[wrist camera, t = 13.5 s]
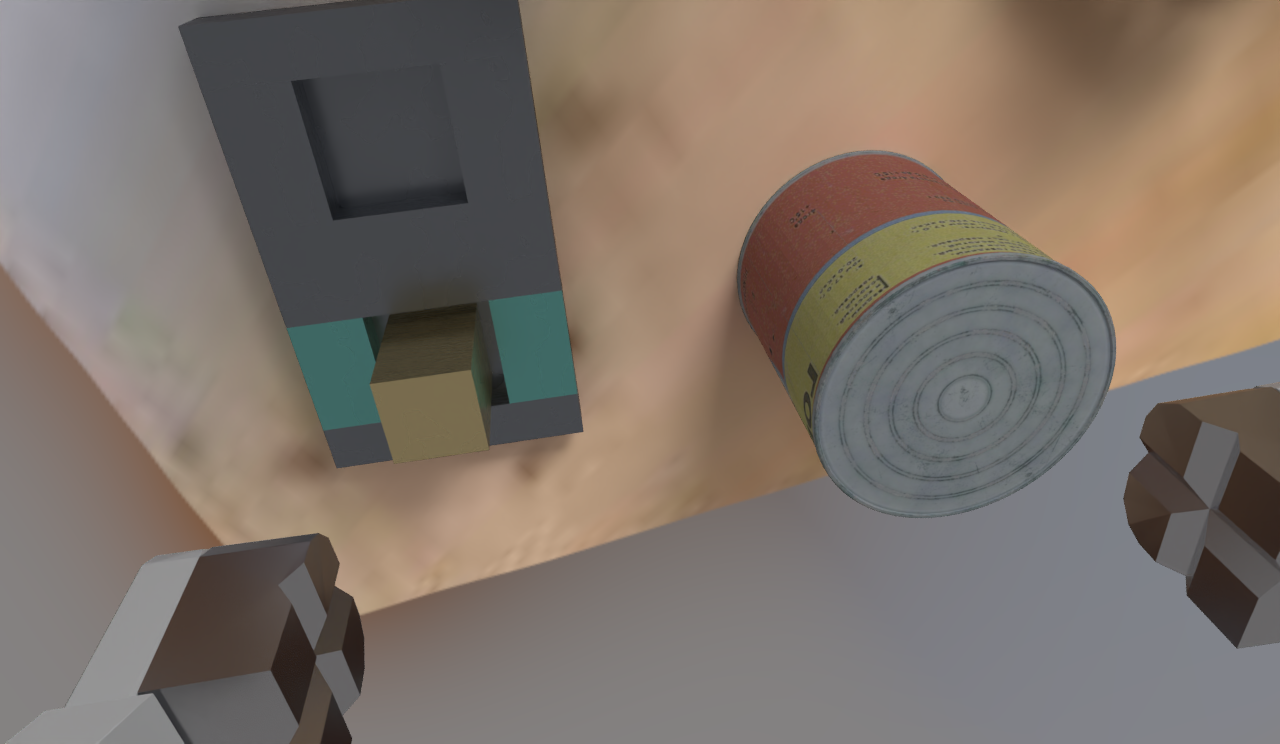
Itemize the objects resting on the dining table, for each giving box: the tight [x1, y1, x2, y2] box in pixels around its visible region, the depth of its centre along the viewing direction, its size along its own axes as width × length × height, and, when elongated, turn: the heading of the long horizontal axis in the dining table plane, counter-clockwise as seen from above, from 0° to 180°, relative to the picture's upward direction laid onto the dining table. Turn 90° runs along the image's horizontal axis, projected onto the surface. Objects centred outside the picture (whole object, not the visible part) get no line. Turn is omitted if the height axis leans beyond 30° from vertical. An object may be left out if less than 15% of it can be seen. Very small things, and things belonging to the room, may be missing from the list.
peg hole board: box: [178, 0, 583, 468], centre depth 36 cm, size 20×12×2 cm, turn 5°
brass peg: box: [370, 303, 492, 464], centre depth 36 cm, size 4×4×6 cm
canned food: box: [737, 151, 1116, 518], centre depth 35 cm, size 11×11×12 cm
